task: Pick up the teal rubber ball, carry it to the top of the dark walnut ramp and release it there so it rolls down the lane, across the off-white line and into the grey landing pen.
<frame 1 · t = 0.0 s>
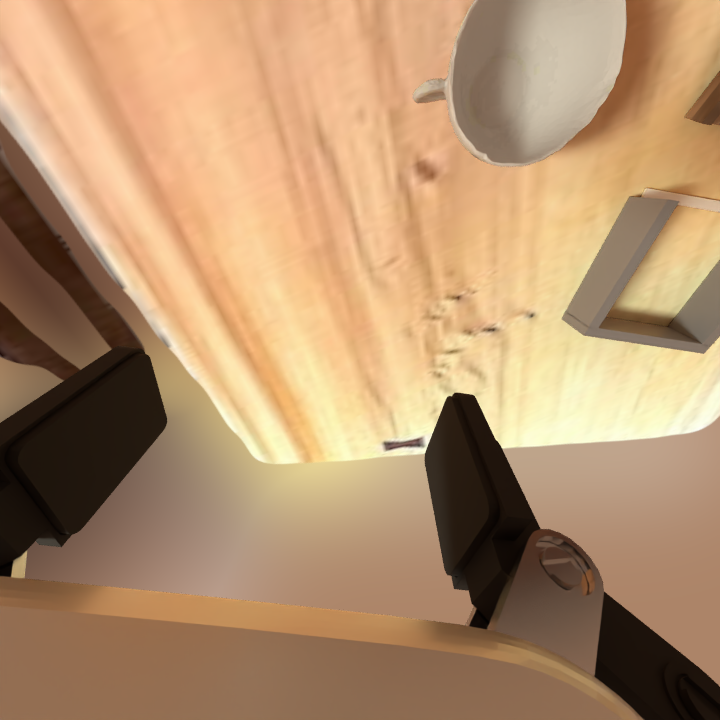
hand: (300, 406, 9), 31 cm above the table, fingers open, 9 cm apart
teacup: (483, 95, 29), on the table
grey landing pen: (654, 270, 37), on the table
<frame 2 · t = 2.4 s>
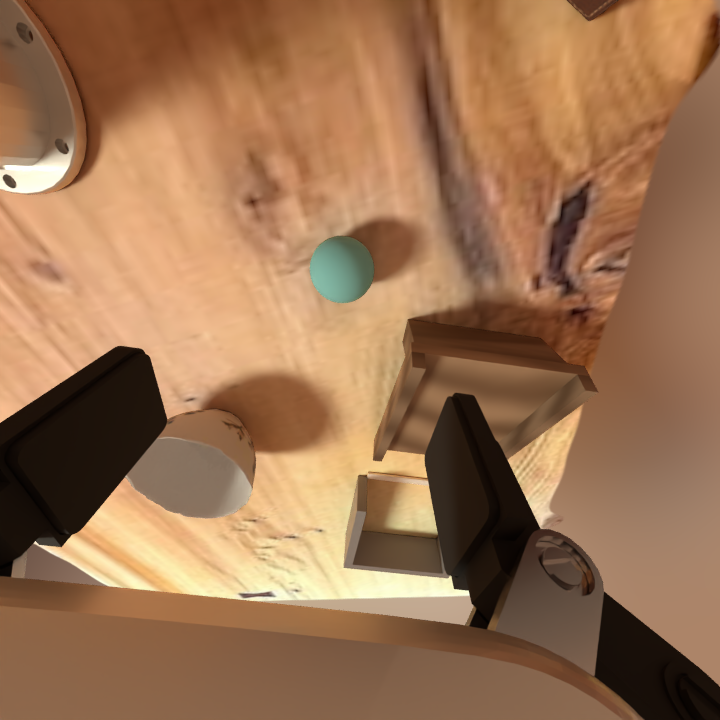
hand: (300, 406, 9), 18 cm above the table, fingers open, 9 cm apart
teacup: (212, 425, 36), on the table
teal rubber ball: (344, 262, 25), on the table
walnut ramp: (449, 395, 32), on the table
grey landing pen: (404, 510, 44), on the table
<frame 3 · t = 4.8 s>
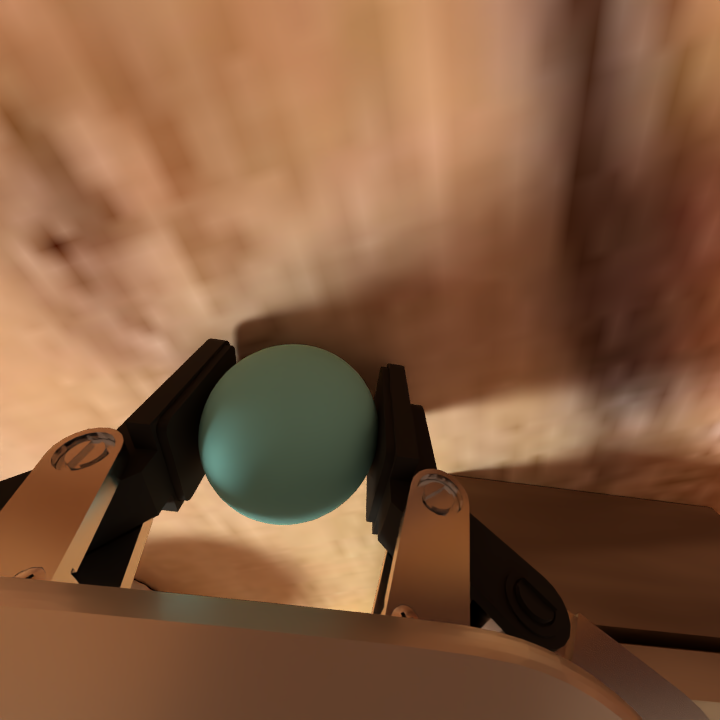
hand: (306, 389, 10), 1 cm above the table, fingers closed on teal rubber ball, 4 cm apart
teal rubber ball: (309, 379, 11), on the table, touching gripper
walnut ramp: (509, 571, 18), on the table
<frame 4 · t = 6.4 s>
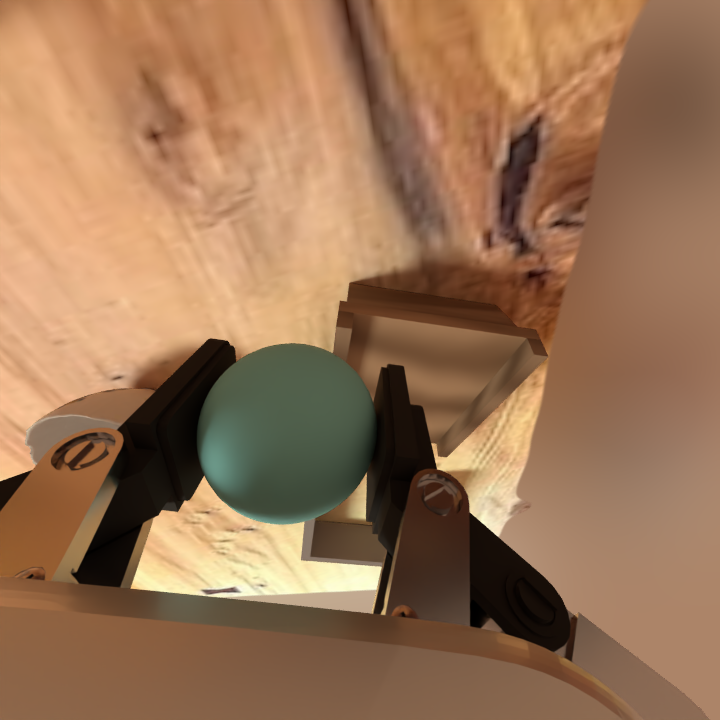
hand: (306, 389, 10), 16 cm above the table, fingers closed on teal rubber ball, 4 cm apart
teacup: (147, 407, 33), on the table
teal rubber ball: (308, 378, 11), point 16 cm above the table, touching gripper
walnut ramp: (402, 371, 30), on the table
grey landing pen: (366, 499, 42), on the table
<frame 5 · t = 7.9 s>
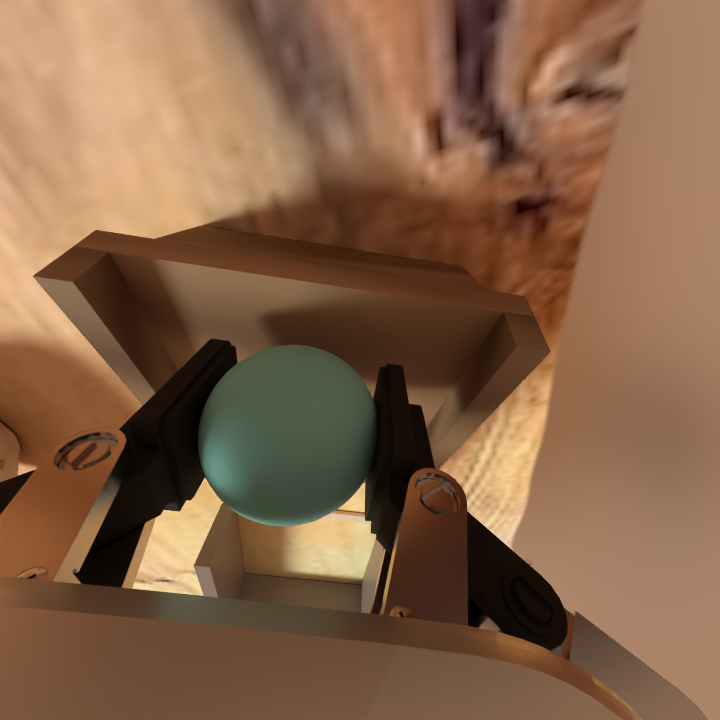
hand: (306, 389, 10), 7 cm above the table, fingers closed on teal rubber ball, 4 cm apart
teal rubber ball: (309, 379, 11), point 7 cm above the table, touching gripper
walnut ramp: (322, 379, 19), on the table
grey landing pen: (306, 550, 31), on the table
when the fingers open (7 cm above the table, at t = 8.2 s): teal rubber ball drops 4 cm and tips over, point 2 cm above the table.
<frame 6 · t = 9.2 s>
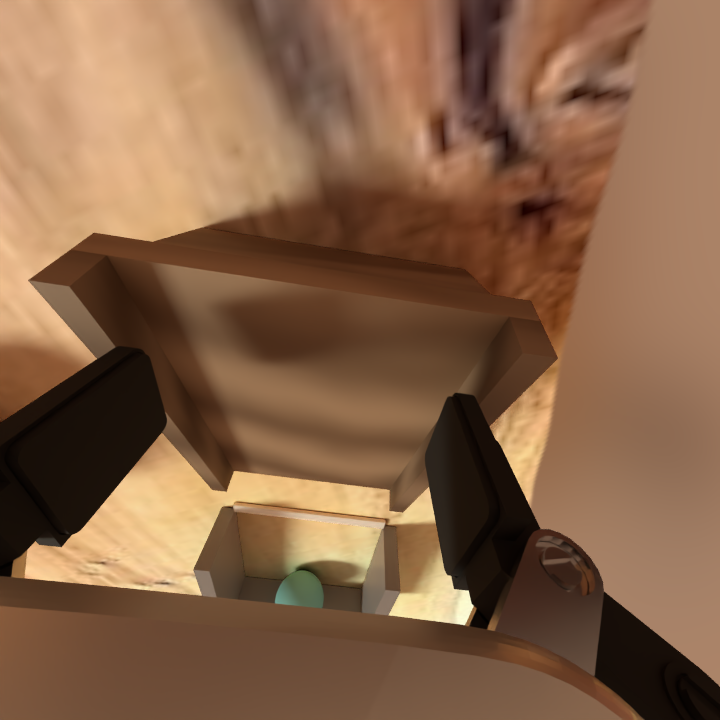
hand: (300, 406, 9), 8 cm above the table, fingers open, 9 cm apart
teal rubber ball: (300, 589, 29), point 2 cm above the table, tilted 90°
walnut ramp: (323, 382, 19), on the table
grey landing pen: (306, 554, 30), on the table
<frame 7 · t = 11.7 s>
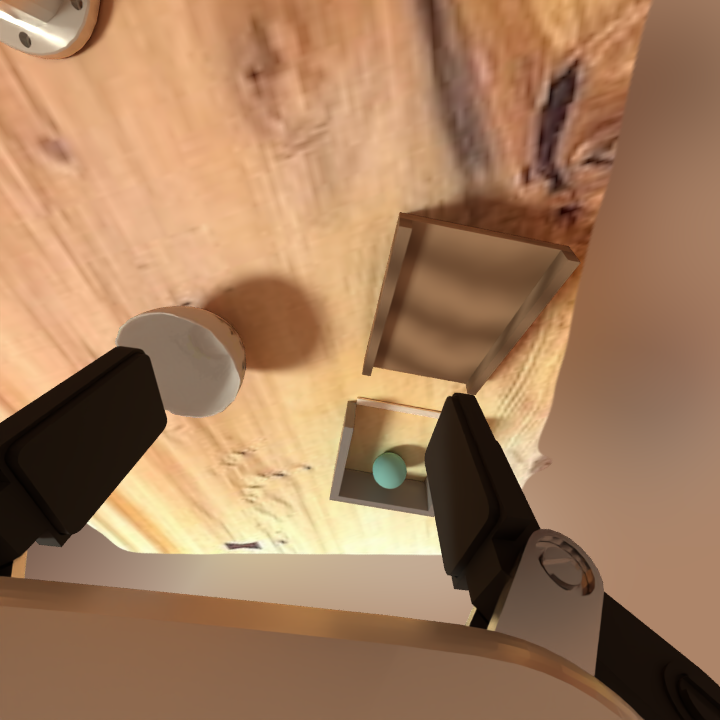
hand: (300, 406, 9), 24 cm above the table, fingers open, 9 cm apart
teacup: (206, 336, 37), on the table
teal rubber ball: (392, 452, 44), point 1 cm above the table, tilted 49°
walnut ramp: (439, 306, 33), on the table
grey landing pen: (393, 446, 44), on the table
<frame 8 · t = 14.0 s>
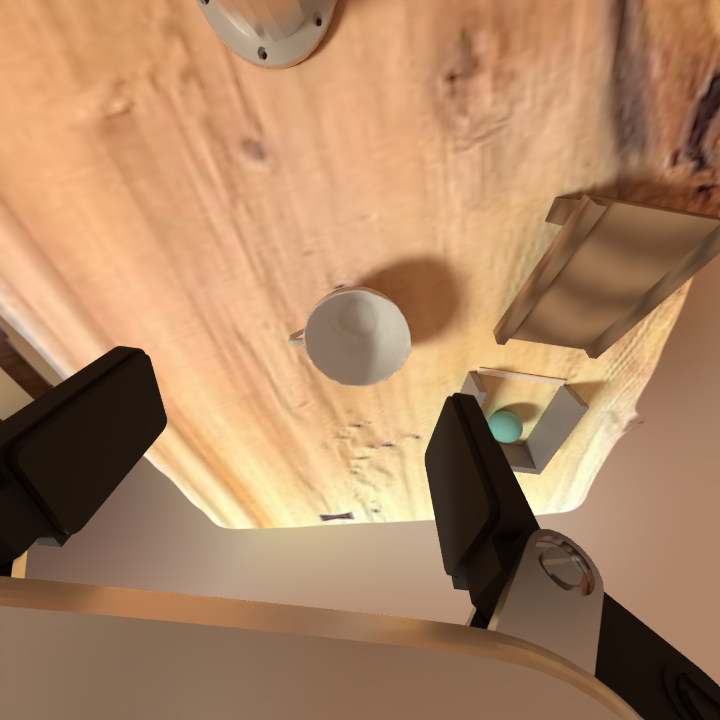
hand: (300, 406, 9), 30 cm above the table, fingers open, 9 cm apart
teacup: (350, 316, 41), on the table
teal rubber ball: (500, 413, 49), on the table, tilted 11°
walnut ramp: (572, 279, 37), on the table
grey landing pen: (501, 412, 49), on the table
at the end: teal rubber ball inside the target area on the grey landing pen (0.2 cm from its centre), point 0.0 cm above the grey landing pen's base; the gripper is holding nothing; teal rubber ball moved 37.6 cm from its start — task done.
